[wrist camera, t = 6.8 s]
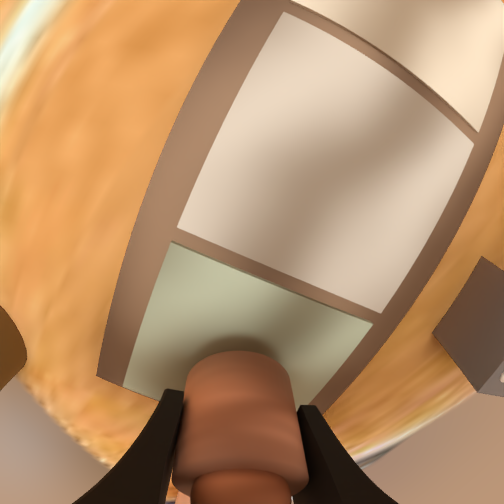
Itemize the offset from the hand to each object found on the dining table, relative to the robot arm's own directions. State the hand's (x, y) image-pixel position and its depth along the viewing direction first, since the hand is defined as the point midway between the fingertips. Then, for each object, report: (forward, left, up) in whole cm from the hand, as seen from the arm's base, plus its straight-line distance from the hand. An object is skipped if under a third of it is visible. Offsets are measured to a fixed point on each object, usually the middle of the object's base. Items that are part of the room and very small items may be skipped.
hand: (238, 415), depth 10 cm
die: (-12, -7, -4) cm, 14 cm away
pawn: (0, 0, -1) cm, 1 cm away
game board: (0, -9, -4) cm, 10 cm away
